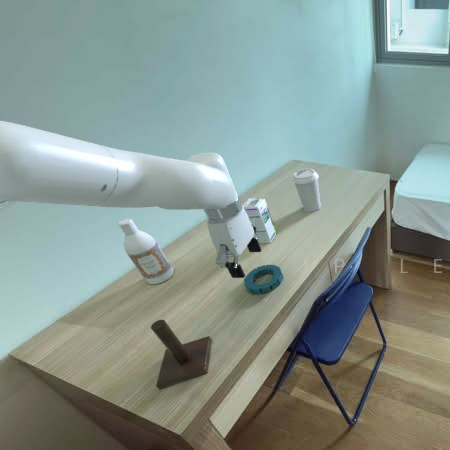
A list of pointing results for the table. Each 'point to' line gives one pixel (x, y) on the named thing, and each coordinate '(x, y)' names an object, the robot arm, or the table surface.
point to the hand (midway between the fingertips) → (247, 263)
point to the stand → (180, 356)
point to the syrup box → (261, 219)
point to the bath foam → (145, 253)
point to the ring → (266, 286)
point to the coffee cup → (307, 189)
